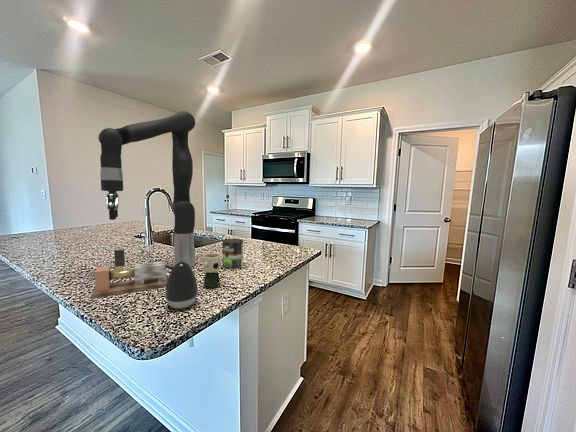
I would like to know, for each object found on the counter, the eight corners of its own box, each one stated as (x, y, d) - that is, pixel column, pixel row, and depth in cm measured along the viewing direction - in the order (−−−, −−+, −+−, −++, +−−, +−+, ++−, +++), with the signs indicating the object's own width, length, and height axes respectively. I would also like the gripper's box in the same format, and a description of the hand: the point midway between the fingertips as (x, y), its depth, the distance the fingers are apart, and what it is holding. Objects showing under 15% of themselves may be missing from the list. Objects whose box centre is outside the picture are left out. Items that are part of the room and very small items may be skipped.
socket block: (111, 284, 96) (110, 265, 95) (109, 290, 90) (108, 270, 90) (98, 286, 93) (97, 267, 93) (95, 292, 88) (94, 272, 88)
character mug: (212, 292, 95) (212, 259, 93) (196, 290, 96) (195, 257, 95) (226, 282, 105) (226, 252, 104) (211, 280, 107) (211, 251, 105)
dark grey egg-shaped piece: (171, 298, 89) (170, 257, 87) (201, 298, 89) (201, 257, 88) (159, 312, 78) (158, 266, 77) (193, 312, 79) (192, 266, 78)
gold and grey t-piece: (141, 274, 99) (140, 247, 98) (141, 276, 97) (140, 249, 95) (101, 279, 93) (100, 250, 91) (100, 282, 90) (99, 252, 89)
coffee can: (235, 272, 118) (235, 243, 116) (217, 269, 122) (217, 241, 120) (246, 266, 127) (247, 239, 126) (230, 263, 131) (230, 237, 130)
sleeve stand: (167, 278, 108) (167, 259, 107) (169, 286, 99) (169, 265, 98) (95, 288, 95) (94, 267, 94) (91, 298, 86) (90, 275, 85)
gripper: (121, 179, 97) (123, 220, 99) (124, 180, 109) (125, 216, 111) (97, 178, 93) (100, 220, 95) (102, 179, 105) (104, 216, 107)
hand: (113, 218), depth 103 cm, fingers open, 8 cm apart
